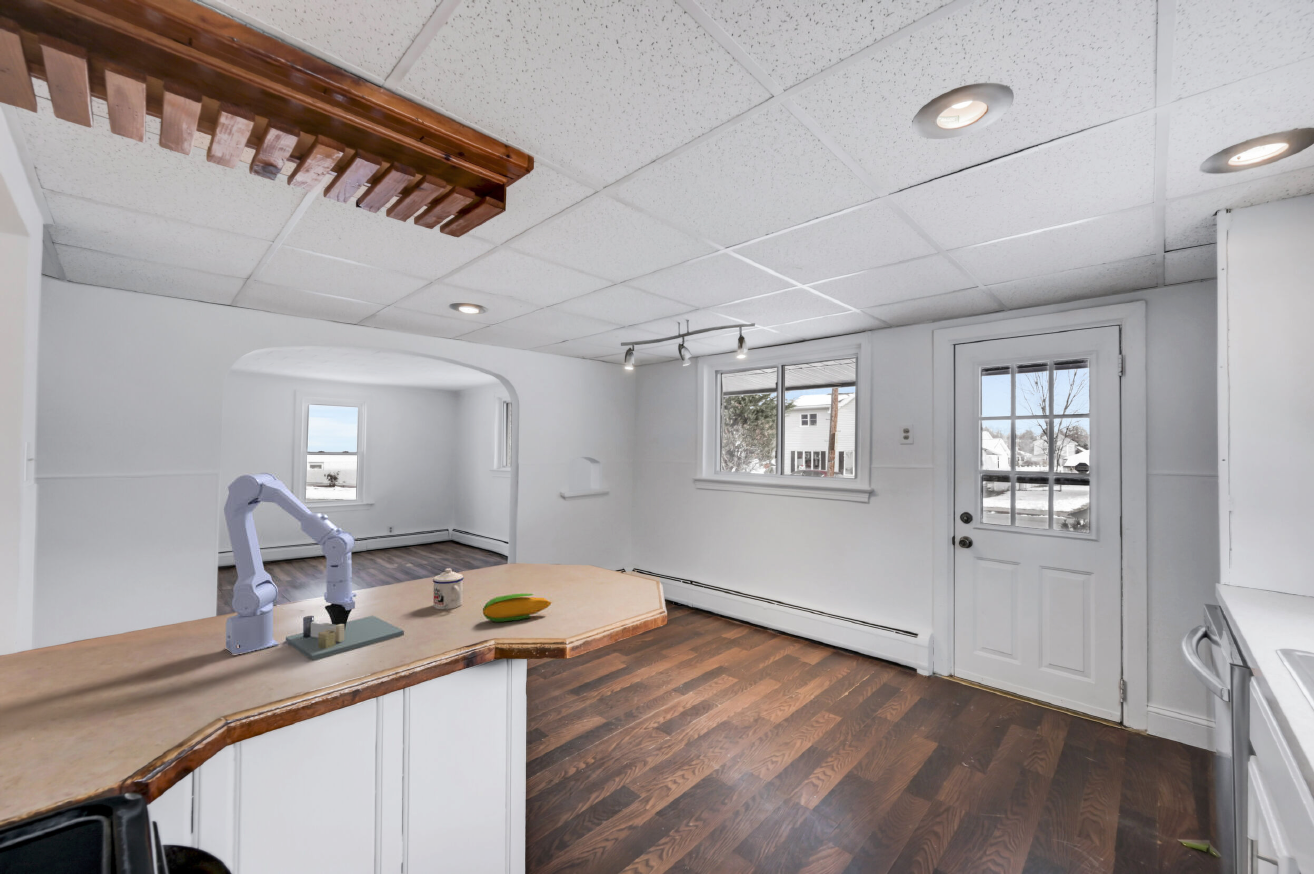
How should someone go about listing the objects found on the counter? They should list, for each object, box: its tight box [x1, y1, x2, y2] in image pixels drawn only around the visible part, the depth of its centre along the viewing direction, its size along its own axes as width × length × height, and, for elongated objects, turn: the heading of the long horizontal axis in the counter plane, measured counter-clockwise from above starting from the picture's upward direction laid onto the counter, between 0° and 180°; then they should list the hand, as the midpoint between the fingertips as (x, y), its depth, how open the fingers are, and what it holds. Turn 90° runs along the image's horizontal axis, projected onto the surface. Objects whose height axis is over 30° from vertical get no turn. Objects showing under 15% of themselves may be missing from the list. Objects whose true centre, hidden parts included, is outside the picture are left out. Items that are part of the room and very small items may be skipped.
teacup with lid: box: [432, 568, 464, 610], centre depth 172 cm, size 12×9×12 cm
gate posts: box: [302, 615, 335, 649], centre depth 139 cm, size 3×14×5 cm, turn 51°
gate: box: [311, 620, 344, 642], centre depth 140 cm, size 10×1×4 cm, turn 69°
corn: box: [482, 592, 552, 623], centre depth 161 cm, size 7×8×20 cm
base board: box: [285, 615, 405, 662], centre depth 145 cm, size 22×19×1 cm
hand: (339, 631), depth 142 cm, fingers closed
